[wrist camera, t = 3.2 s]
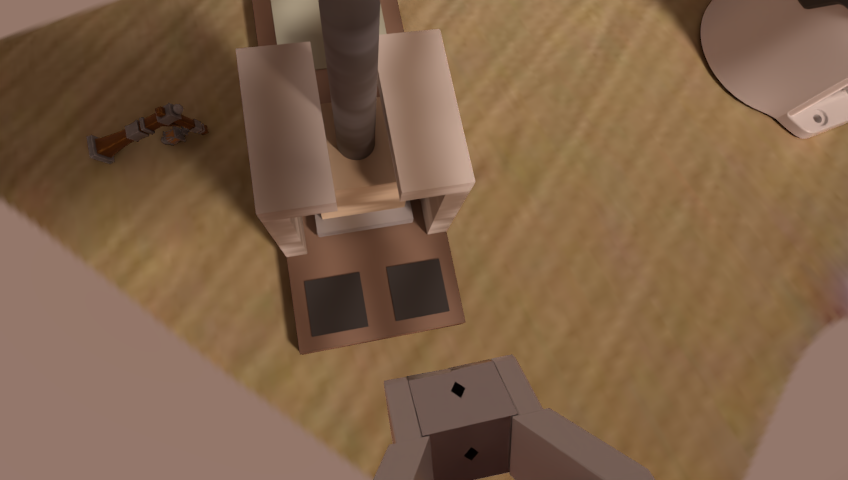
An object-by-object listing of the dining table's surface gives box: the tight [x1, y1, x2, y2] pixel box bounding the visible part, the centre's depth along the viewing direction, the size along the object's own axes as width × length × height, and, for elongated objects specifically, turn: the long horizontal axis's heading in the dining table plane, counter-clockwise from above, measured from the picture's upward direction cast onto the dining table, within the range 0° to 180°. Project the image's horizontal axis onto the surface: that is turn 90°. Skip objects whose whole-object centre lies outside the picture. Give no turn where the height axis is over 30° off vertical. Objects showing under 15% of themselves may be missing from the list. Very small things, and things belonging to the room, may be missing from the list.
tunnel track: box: [236, 0, 475, 355], centre depth 35 cm, size 12×31×12 cm, turn 11°
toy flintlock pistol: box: [87, 103, 208, 164], centre depth 38 cm, size 2×8×4 cm, turn 107°
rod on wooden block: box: [315, 0, 413, 237], centre depth 29 cm, size 7×8×19 cm
